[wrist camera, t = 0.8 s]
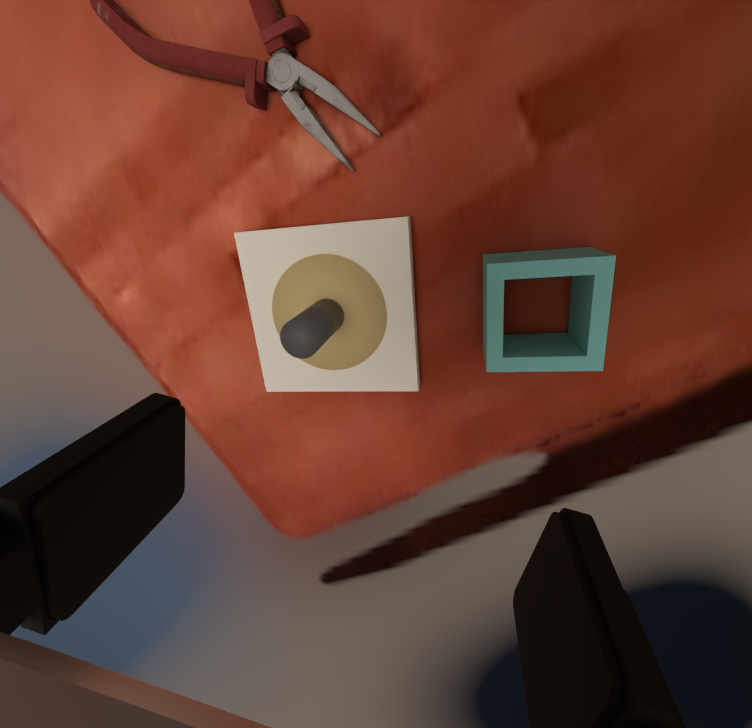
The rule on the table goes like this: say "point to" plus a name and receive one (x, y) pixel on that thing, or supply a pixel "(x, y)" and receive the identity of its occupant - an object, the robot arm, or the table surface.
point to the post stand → (333, 305)
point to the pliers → (246, 65)
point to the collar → (585, 311)
